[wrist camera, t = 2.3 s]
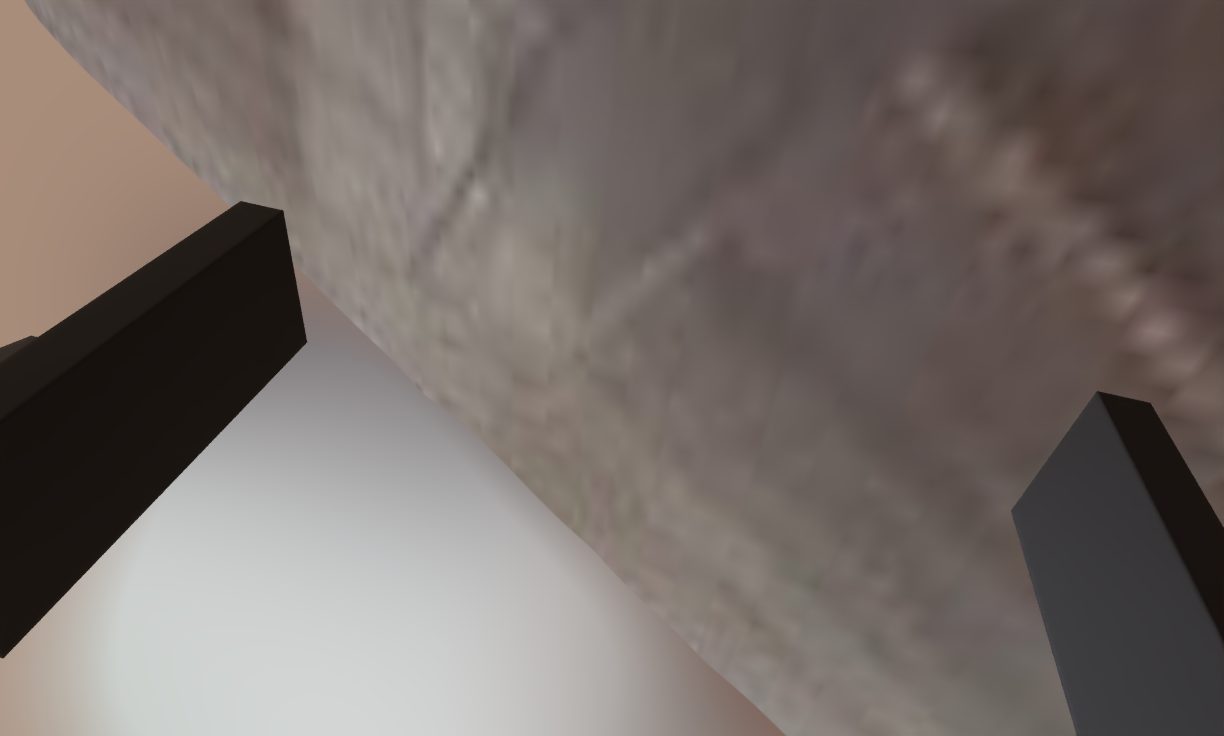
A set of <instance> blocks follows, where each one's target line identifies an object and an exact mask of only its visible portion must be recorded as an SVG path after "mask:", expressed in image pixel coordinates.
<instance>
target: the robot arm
mask: <svg viewBox="0 0 1224 736" xmlns="http://www.w3.org/2000/svg"><path fill="white" fill-rule="evenodd" d="M306 343H307V339H306V334H305V328H304V323H303V317H302V312H301V306H300V300H299V295H298V290H297V284H296V278H295V273H294V268H293V262H292V256H291V251H290V245H289V240H288V234H287V229H286V223H285V218H284V212H283V210H278V209H274V208H269V207H265V206H260V205H256V204H251V203H247V202H242V201H240V202H239V203H237V204H236V205H234V206H233V207H231V208H230V209H228V210H227V211H225V212H224V213H223V214H221V215H219V216H218V217H216V218H215V219H213V220H212V221H211V222H209V223H208V224H206V225H205V226H203V227H202V228H200V229H199V230H197V231H196V232H194V233H193V234H191V235H190V236H188V237H187V238H185V239H184V240H183V241H181V242H179V243H178V244H176V245H175V246H173V247H172V248H170V249H169V250H167V251H166V252H164V253H163V254H161V255H160V256H158V257H157V258H155V259H154V260H152V261H151V262H149V263H148V264H146V265H145V266H143V267H142V268H140V269H139V270H137V271H136V272H134V273H133V274H132V275H130V276H129V277H127V278H126V279H124V280H123V281H121V282H120V283H118V284H117V285H115V286H114V287H112V288H111V289H109V290H108V291H106V292H105V293H103V294H102V295H100V296H99V297H98V298H96V299H94V300H93V301H91V302H90V303H88V304H87V305H85V306H84V307H82V308H81V309H79V310H78V311H76V312H75V313H74V314H72V315H70V316H69V317H67V318H66V319H64V320H63V321H62V322H60V323H58V324H57V325H56V326H54V327H53V328H51V329H50V330H48V331H47V332H45V333H44V334H42V335H41V336H39V337H34V336H29V337H27V338H24V339H22V340H19V341H16V342H14V343H11V344H9V345H6V346H4V347H1V348H0V658H4V657H5V656H6V655H7V654H8V653H9V652H10V651H11V650H12V649H13V648H14V647H15V646H16V645H17V644H18V643H19V642H20V641H21V640H22V638H23V637H24V636H25V635H26V634H27V633H28V632H29V631H30V630H31V629H32V628H33V627H34V626H35V625H36V624H37V623H38V622H39V621H40V620H41V619H42V618H43V616H45V615H46V614H47V612H48V611H49V610H50V609H51V608H52V607H53V606H54V605H55V604H56V603H57V602H58V601H59V600H60V599H61V598H62V597H63V596H64V595H65V594H66V593H67V592H68V591H69V590H70V589H71V587H72V586H73V585H74V584H75V583H76V582H77V581H78V580H79V579H80V578H81V577H82V576H83V575H84V574H85V573H86V572H87V571H88V570H89V569H90V568H91V567H92V565H94V564H95V563H96V561H97V560H98V559H99V558H100V557H101V556H102V555H103V554H104V553H105V552H106V551H107V550H108V549H109V548H110V547H111V546H112V545H113V544H114V543H115V542H116V541H117V540H118V539H119V537H120V536H121V535H122V534H123V533H124V532H125V531H126V530H127V529H128V528H129V527H130V526H131V525H132V524H133V523H134V522H135V521H136V520H137V519H138V518H139V516H141V515H142V514H143V513H144V512H145V510H146V509H147V508H148V507H149V506H150V505H151V504H152V503H153V502H154V501H155V500H156V499H157V498H158V497H159V496H160V495H161V494H162V493H163V492H164V491H165V489H166V488H167V487H169V485H170V484H171V483H172V482H173V481H174V480H175V479H176V478H177V477H178V476H179V475H180V474H181V473H182V472H183V471H184V470H185V469H186V468H187V467H188V466H189V465H190V464H191V463H192V462H193V461H194V459H195V458H196V457H197V456H198V455H199V454H200V453H201V452H202V451H203V450H204V449H205V448H206V447H207V446H208V445H209V444H210V443H211V442H212V441H213V440H214V438H216V436H217V435H218V434H219V433H220V432H221V431H222V430H223V429H224V428H225V427H226V426H227V425H228V424H229V423H230V422H231V421H232V420H233V419H234V418H235V417H236V416H237V415H238V414H239V412H241V411H242V409H243V408H244V407H245V406H246V405H247V404H248V403H249V402H250V401H251V400H252V399H253V398H254V397H255V396H256V395H257V394H258V393H259V392H260V391H261V390H262V389H263V388H264V387H265V386H266V385H267V383H268V382H269V381H270V380H271V379H272V378H273V377H274V376H275V375H276V374H277V373H278V372H279V371H280V370H281V369H282V368H283V367H284V366H285V365H286V364H287V363H288V361H290V360H291V358H292V357H293V356H294V355H295V354H296V353H297V352H298V351H299V350H300V349H301V348H302V347H303V346H304V345H305V344H306ZM1011 512H1012V516H1013V519H1014V523H1015V526H1016V529H1017V533H1018V536H1019V540H1020V543H1021V546H1022V550H1023V553H1024V557H1025V560H1026V564H1027V567H1028V570H1029V574H1030V577H1031V581H1032V584H1033V587H1034V591H1035V594H1036V598H1037V601H1038V604H1039V608H1040V611H1041V615H1042V618H1043V622H1044V625H1045V628H1046V632H1047V635H1048V639H1049V642H1050V645H1051V649H1052V652H1053V656H1054V659H1055V662H1056V666H1057V669H1058V673H1059V676H1060V679H1061V683H1062V686H1063V690H1064V693H1065V697H1066V700H1067V703H1068V707H1069V710H1070V714H1071V717H1072V720H1073V724H1074V727H1075V731H1076V734H1077V736H1224V528H1223V526H1222V524H1221V522H1220V521H1219V519H1218V517H1217V516H1216V514H1215V512H1214V510H1213V509H1212V507H1211V505H1210V504H1209V502H1208V500H1207V499H1206V497H1205V495H1204V493H1203V492H1202V490H1201V488H1200V487H1199V485H1198V483H1197V482H1196V480H1195V478H1194V476H1193V475H1192V473H1191V471H1190V470H1189V468H1188V466H1187V464H1186V463H1185V461H1184V459H1183V458H1182V456H1181V454H1180V453H1179V451H1178V449H1177V447H1176V446H1175V444H1174V442H1173V441H1172V439H1171V437H1170V435H1169V434H1168V432H1167V430H1166V429H1165V427H1164V425H1163V424H1162V422H1161V420H1160V418H1159V417H1158V415H1157V413H1156V412H1155V410H1154V408H1153V407H1152V405H1151V403H1148V402H1144V401H1139V400H1135V399H1130V398H1126V397H1121V396H1117V395H1112V394H1108V393H1103V392H1099V391H1097V392H1096V394H1095V395H1094V396H1093V398H1092V399H1091V401H1090V402H1089V403H1088V405H1087V406H1086V407H1085V409H1084V410H1083V412H1082V413H1081V414H1080V416H1079V417H1078V419H1077V420H1076V421H1075V423H1074V424H1073V426H1072V427H1071V428H1070V430H1069V431H1068V432H1067V434H1066V435H1065V437H1064V438H1063V439H1062V441H1061V442H1060V444H1059V445H1058V446H1057V448H1056V449H1055V451H1054V452H1053V453H1052V455H1051V456H1050V457H1049V459H1048V460H1047V462H1046V463H1045V464H1044V466H1043V467H1042V469H1041V470H1040V471H1039V473H1038V474H1037V476H1036V477H1035V478H1034V480H1033V481H1032V482H1031V484H1030V485H1029V487H1028V488H1027V489H1026V491H1025V492H1024V494H1023V495H1022V496H1021V498H1020V499H1019V501H1018V502H1017V503H1016V505H1015V506H1014V507H1013V509H1012V510H1011Z"/></svg>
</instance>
